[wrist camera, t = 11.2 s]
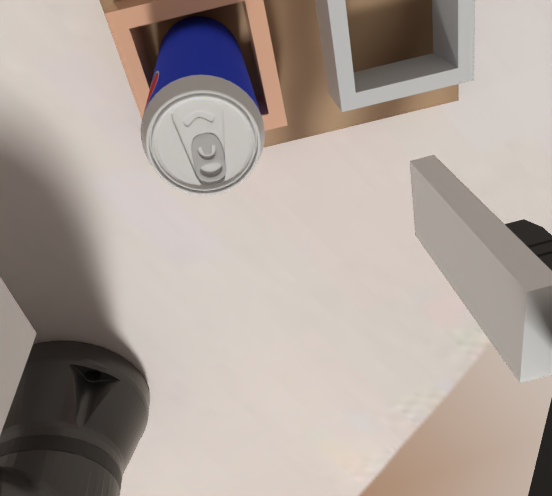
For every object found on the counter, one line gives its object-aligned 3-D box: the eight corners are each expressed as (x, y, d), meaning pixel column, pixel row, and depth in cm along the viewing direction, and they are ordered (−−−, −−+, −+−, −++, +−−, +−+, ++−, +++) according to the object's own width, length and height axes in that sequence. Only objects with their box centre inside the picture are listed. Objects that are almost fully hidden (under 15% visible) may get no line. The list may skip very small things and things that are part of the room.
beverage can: (150, 22, 32) (122, 94, 20) (233, 7, 32) (257, 70, 20) (170, 103, 35) (157, 212, 23) (246, 90, 35) (275, 190, 23)
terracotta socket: (158, 134, 36) (155, 157, 33) (113, 2, 31) (104, 13, 28) (278, 105, 36) (287, 125, 33) (251, -31, 31) (258, -24, 28)
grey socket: (328, 93, 36) (341, 112, 33) (308, -45, 31) (322, -39, 28) (447, 64, 36) (473, 80, 33) (446, -78, 31) (476, -77, 28)
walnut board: (162, 163, 39) (160, 172, 38) (87, -48, 31) (83, -47, 30) (449, 94, 39) (458, 100, 38) (447, -135, 31) (458, -137, 30)
